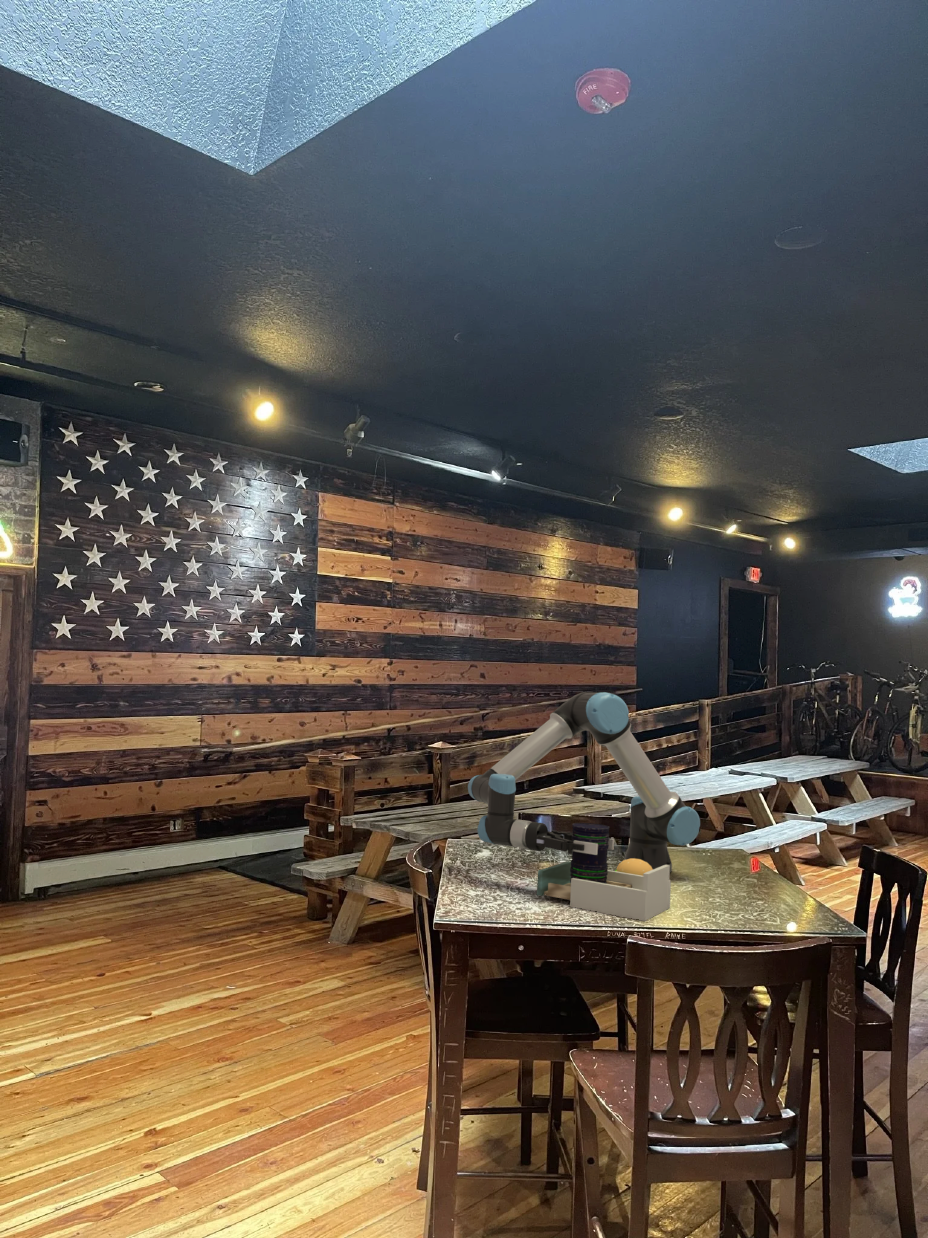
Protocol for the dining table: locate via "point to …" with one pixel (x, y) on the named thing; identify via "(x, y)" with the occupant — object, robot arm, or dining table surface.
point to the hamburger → (634, 866)
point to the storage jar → (586, 863)
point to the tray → (560, 881)
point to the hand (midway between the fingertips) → (605, 847)
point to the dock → (625, 894)
